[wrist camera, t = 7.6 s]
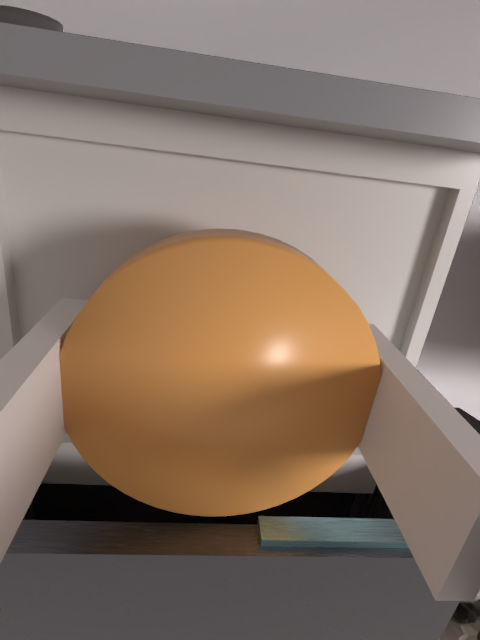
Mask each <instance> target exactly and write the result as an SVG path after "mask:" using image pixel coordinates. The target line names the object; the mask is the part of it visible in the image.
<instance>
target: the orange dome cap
mask: <svg viewBox="0 0 480 640" xmlns="http://www.w3.org/2000/svg"><path fill="white" fill-rule="evenodd" d="M59 361H60V375H61V390H62V404H63V418H64V427H65V429H66V431H67V433H68V435H69V437H70V439H71V441H72V443H73V445H74V446H75V448H76V449H77V450H78V452H79V453H80V455H81V456H82V458H83V459H84V460H85V461H86V462H87V463H88V464H89V466H90V467H91V468H92V469H93V470H94V471H95V472H96V473H97V474H98V475H100V476H101V477H102V478H103V479H104V480H106V481H107V482H108V483H109V484H111V485H112V486H114V487H115V488H117V489H118V490H120V491H121V492H123V493H124V494H126V495H128V496H130V497H132V498H134V499H136V500H138V501H140V502H143V503H146V504H148V505H151V506H153V507H156V508H160V509H163V510H167V511H171V512H175V513H181V514H187V515H195V516H209V517H211V516H233V515H241V514H248V513H252V512H257V511H262V510H265V509H268V508H272V507H275V506H278V505H281V504H283V503H285V502H288V501H290V500H292V499H295V498H297V497H299V496H301V495H302V494H304V493H306V492H308V491H310V490H312V489H313V488H314V487H316V486H317V485H319V484H320V483H322V482H323V481H325V480H326V479H327V478H328V477H330V476H331V475H332V474H333V473H334V472H335V471H337V470H338V469H339V468H340V467H341V466H342V465H343V464H344V462H345V461H346V460H347V459H348V458H349V457H350V456H351V455H352V453H353V452H354V451H355V449H356V448H357V446H358V445H359V444H360V442H361V441H362V439H363V435H364V432H365V429H366V425H367V422H368V419H369V416H370V412H371V409H372V406H373V402H374V399H375V396H376V393H377V389H378V386H379V383H380V379H381V371H380V358H379V354H378V349H377V345H376V341H375V338H374V336H373V333H372V331H371V328H370V326H369V323H368V322H367V320H366V318H365V317H364V315H363V313H362V312H361V310H360V308H359V307H358V305H357V304H356V303H355V302H354V301H353V299H352V298H351V297H350V296H349V295H348V293H347V292H346V291H345V290H344V289H343V288H342V287H341V286H340V285H339V284H338V283H337V282H336V281H335V280H334V279H333V278H332V277H331V276H330V275H329V274H328V273H327V272H326V271H325V270H324V269H323V268H322V267H321V266H320V265H319V264H318V263H316V262H315V261H314V260H313V259H312V258H311V257H309V256H308V255H306V254H304V253H303V252H301V251H300V250H298V249H297V248H295V247H293V246H291V245H289V244H287V243H285V242H283V241H281V240H279V239H276V238H273V237H269V236H266V235H263V234H260V233H256V232H250V231H244V230H239V229H217V228H216V229H205V230H195V231H191V232H186V233H182V234H177V235H174V236H171V237H168V238H166V239H163V240H160V241H158V242H155V243H153V244H151V245H149V246H148V247H146V248H144V249H142V250H140V251H138V252H137V253H135V254H134V255H132V256H131V257H130V258H128V259H127V260H126V261H124V262H123V263H122V264H120V265H119V266H118V267H117V268H116V269H115V270H114V271H113V272H112V273H111V274H110V275H109V276H108V277H107V278H106V279H105V281H104V282H103V283H102V284H101V286H100V287H99V288H98V289H97V291H96V292H95V293H94V294H93V295H92V297H91V298H90V299H89V300H88V302H87V303H86V304H85V306H84V307H83V308H82V310H81V311H80V312H79V314H78V315H77V316H76V318H75V320H74V322H73V324H72V325H71V327H70V329H69V331H68V333H67V335H66V337H65V340H64V343H63V346H62V349H61V352H60V355H59Z"/></svg>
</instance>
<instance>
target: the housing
mask: <svg viewBox="0 0 480 640" xmlns="http://www.w3.org/2000/svg"><path fill="white" fill-rule="evenodd" d="M459 602H460V601H435V599H434V597H433V595H432V593H431V591H430V589H429V587H428V585H427V583H426V581H425V579H424V577H423V575H422V573H421V571H420V569H419V567H418V565H417V563H416V561H415V559H414V557H413V555H412V553H411V551H410V549H409V547H408V545H407V543H406V541H405V539H404V537H403V535H402V533H401V531H400V529H399V527H398V525H397V523H396V521H395V519H394V517H393V515H392V513H391V511H390V509H389V507H388V505H387V503H386V502H385V500H384V498H383V496H382V494H381V492H380V490H379V488H378V486H377V484H376V486H375V489H374V492H373V494H372V493H356V495H355V498H354V502H353V505H352V508H351V511H350V514H349V517H348V518H329V517H286V516H258V520H257V525H251V524H203V523H155V522H107V521H59V520H34V514H33V506H32V502H31V504H30V506H29V508H28V510H27V512H26V514H25V516H24V518H23V520H22V522H21V524H20V526H19V527H18V529H17V531H16V533H15V535H14V537H13V539H12V541H11V543H10V545H9V547H8V549H7V551H6V553H5V555H4V557H3V559H2V561H1V563H0V640H439V639H440V638H441V636H442V634H443V632H444V630H445V628H446V626H447V625H448V623H449V621H450V619H451V617H452V615H453V613H454V612H455V610H456V608H457V606H458V604H459Z"/></svg>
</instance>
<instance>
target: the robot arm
mask: <svg viewBox="0 0 480 640" xmlns="http://www.w3.org/2000/svg"><path fill="white" fill-rule="evenodd" d="M87 302H88V300H82V299H70V298H62V299H61V300H60V301H59V302H58V303H57V304H56V305H55V306H54V307H53V308H52V309H51V310H50V311H49V312H48V313H47V314H46V315H45V316H44V317H43V318H42V319H41V320H40V321H39V322H38V323H37V324H36V325H35V326H34V327H33V328H32V329H31V330H30V331H29V332H28V333H27V334H26V335H25V336H24V337H23V338H22V339H21V340H20V341H19V342H18V343H17V344H16V345H15V346H14V347H13V348H12V349H11V350H10V351H9V352H8V353H7V354H6V355H5V356H4V357H3V358H2V359H1V360H0V563H1V561H2V559H3V557H4V555H5V553H6V551H7V549H8V547H9V545H10V543H11V541H12V539H13V537H14V535H15V533H16V531H17V529H18V527H19V526H20V524H21V522H22V520H23V518H24V516H25V514H26V512H27V510H28V508H29V506H30V504H31V502H32V500H33V498H34V496H35V494H36V492H37V490H38V488H39V486H40V484H41V482H42V480H43V478H44V476H45V474H46V472H47V470H48V468H49V466H50V464H51V462H52V460H53V458H54V456H55V454H56V452H57V450H58V449H59V447H60V445H61V443H62V441H63V439H64V437H65V435H66V433H67V431H66V429H65V427H64V418H63V404H62V390H61V375H60V361H59V355H60V352H61V349H62V346H63V343H64V340H65V337H66V335H67V333H68V331H69V329H70V327H71V325H72V324H73V322H74V320H75V318H76V316H77V315H78V314H79V312H80V311H81V310H82V308H83V307H84V306H85V304H86V303H87ZM369 326H370V328H371V331H372V333H373V336H374V338H375V341H376V345H377V349H378V354H379V358H380V371H381V379H380V383H379V386H378V389H377V393H376V396H375V399H374V402H373V406H372V409H371V412H370V416H369V419H368V422H367V425H366V429H365V432H364V435H363V439H362V441H361V442H360V444H359V445H358V448H359V450H360V452H361V454H362V456H363V458H364V460H365V462H366V464H367V466H368V468H369V470H370V472H371V474H372V476H373V478H374V480H375V482H376V484H377V486H378V488H379V490H380V492H381V494H382V496H383V498H384V500H385V502H386V503H387V505H388V507H389V509H390V511H391V513H392V515H393V517H394V519H395V521H396V523H397V525H398V527H399V529H400V531H401V533H402V535H403V537H404V539H405V541H406V543H407V545H408V547H409V549H410V551H411V553H412V555H413V557H414V559H415V561H416V563H417V565H418V567H419V569H420V571H421V573H422V575H423V577H424V579H425V581H426V583H427V585H428V587H429V589H430V591H431V593H432V595H433V597H434V599H435V601H474V599H475V598H476V596H477V594H478V592H479V590H480V421H479V420H477V419H476V418H474V417H473V416H471V415H469V414H468V413H466V412H465V411H463V410H462V409H460V408H454V407H453V406H452V405H451V404H450V403H449V402H448V401H447V400H446V399H445V398H444V397H443V396H442V395H441V394H440V393H439V392H438V391H437V390H436V389H435V387H434V386H433V385H432V384H431V383H430V382H429V381H428V380H427V379H426V378H425V377H424V376H423V375H422V374H421V373H420V372H419V371H418V370H417V369H416V368H415V367H414V366H413V365H412V363H411V362H410V361H409V360H408V359H407V358H406V357H405V356H404V355H403V354H402V353H401V352H400V351H399V350H398V349H397V348H396V347H395V346H394V345H393V344H392V343H391V342H390V341H389V339H388V338H387V337H386V336H385V335H384V334H383V333H382V332H381V331H380V330H379V329H378V328H377V327H376V326H375V325H374V324H369ZM477 640H480V631H479V633H478V634H477Z"/></svg>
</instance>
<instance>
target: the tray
mask: <svg viewBox="0 0 480 640" xmlns="http://www.w3.org/2000/svg"><path fill="white" fill-rule="evenodd" d="M479 181H480V98H474V97H468V96H461V95H455V94H449V93H442V92H436V91H430V90H424V89H417V88H411V87H405V86H398V85H392V84H386V83H380V82H373V81H367V80H361V79H354V78H348V77H342V76H335V75H329V74H323V73H317V72H310V71H304V70H298V69H291V68H285V67H279V66H273V65H266V64H260V63H254V62H247V61H241V60H235V59H229V58H222V57H216V56H210V55H203V54H197V53H191V52H185V51H178V50H172V49H166V48H159V47H153V46H147V45H141V44H134V43H128V42H122V41H115V40H109V39H103V38H97V37H90V36H84V35H78V34H71V33H65V32H63V26H62V24H61V23H60V22H58V21H56V20H54V19H52V18H50V17H48V16H45V15H42V14H39V13H36V12H33V11H29V10H25V9H21V8H16V7H10V6H0V360H1V359H2V358H3V357H4V356H5V355H6V354H7V353H8V352H9V351H10V350H11V349H12V348H13V347H14V346H15V345H16V344H17V343H18V342H19V341H20V340H21V339H22V338H23V337H24V336H25V335H26V334H27V333H28V332H29V331H30V330H31V329H32V328H33V327H34V326H35V325H36V324H37V323H38V322H39V321H40V320H41V319H42V318H43V317H44V316H45V315H46V314H47V313H48V312H49V311H50V310H51V309H52V308H53V307H54V306H55V305H56V304H57V303H58V302H59V301H60V300H61V299H62V298H70V299H82V300H89V299H90V298H91V297H92V295H93V294H94V293H95V292H96V291H97V289H98V288H99V287H100V286H101V284H102V283H103V282H104V281H105V279H106V278H107V277H108V276H109V275H110V274H111V273H112V272H113V271H114V270H115V269H116V268H117V267H118V266H119V265H120V264H122V263H123V262H124V261H126V260H127V259H128V258H130V257H131V256H132V255H134V254H135V253H137V252H138V251H140V250H142V249H144V248H146V247H148V246H149V245H151V244H153V243H155V242H158V241H160V240H163V239H166V238H168V237H171V236H174V235H177V234H182V233H186V232H191V231H195V230H205V229H216V228H217V229H239V230H244V231H250V232H256V233H260V234H263V235H266V236H269V237H273V238H276V239H279V240H281V241H283V242H285V243H287V244H289V245H291V246H293V247H295V248H297V249H298V250H300V251H301V252H303V253H304V254H306V255H308V256H309V257H311V258H312V259H313V260H314V261H315V262H316V263H318V264H319V265H320V266H321V267H322V268H323V269H324V270H325V271H326V272H327V273H328V274H329V275H330V276H331V277H332V278H333V279H334V280H335V281H336V282H337V283H338V284H339V285H340V286H341V287H342V288H343V289H344V290H345V291H346V292H347V293H348V295H349V296H350V297H351V298H352V299H353V301H354V302H355V303H356V304H357V305H358V307H359V308H360V310H361V312H362V313H363V315H364V317H365V318H366V320H367V322H368V323H369V324H374V325H375V326H376V327H377V328H378V329H379V330H380V331H381V332H382V333H383V334H384V335H385V336H386V337H387V338H388V339H389V341H390V342H391V343H392V344H393V345H394V346H395V347H396V348H397V349H398V350H399V351H400V352H401V353H402V354H403V355H404V356H405V357H406V358H407V359H408V360H409V361H410V362H411V363H412V365H413V366H414V367H415V368H416V366H417V363H418V360H419V357H420V354H421V351H422V348H423V345H424V342H425V339H426V337H427V334H428V331H429V328H430V325H431V322H432V319H433V316H434V313H435V310H436V307H437V304H438V301H439V298H440V295H441V293H442V290H443V287H444V284H445V281H446V278H447V275H448V272H449V269H450V266H451V263H452V260H453V257H454V254H455V251H456V249H457V246H458V243H459V240H460V237H461V234H462V231H463V228H464V225H465V222H466V219H467V216H468V213H469V210H470V207H471V204H472V202H473V199H474V196H475V193H476V190H477V187H478V184H479ZM41 483H51V484H83V485H111V484H109V483H108V482H107V481H106V480H104V479H103V478H102V477H101V476H100V475H98V474H97V473H96V472H95V471H94V470H93V469H92V468H91V467H90V466H89V464H88V463H87V462H86V461H85V460H84V459H83V458H82V456H81V455H80V453H79V452H78V450H77V449H76V448H75V446H74V445H73V443H72V441H71V439H70V437H69V435H68V433H66V435H65V437H64V439H63V441H62V443H61V445H60V447H59V449H58V450H57V452H56V454H55V456H54V458H53V460H52V462H51V464H50V466H49V468H48V470H47V472H46V474H45V476H44V478H43V480H42V482H41ZM375 486H376V482H375V480H374V478H373V476H372V474H371V472H370V470H369V468H368V466H367V464H366V462H365V460H364V458H363V456H362V454H361V452H360V450H359V448H358V446H357V448H356V449H355V451H354V452H353V453H352V455H351V456H350V457H349V458H348V459H347V460H346V461H345V462H344V464H343V465H342V466H341V467H340V468H339V469H338V470H337V471H335V472H334V473H333V474H332V475H331V476H330V477H328V478H327V479H326V480H325V481H323V482H322V483H320V484H319V485H317V486H316V487H314V488H313V489H312V490H310V491H308V492H340V493H372V494H373V492H374V489H375Z"/></svg>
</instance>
